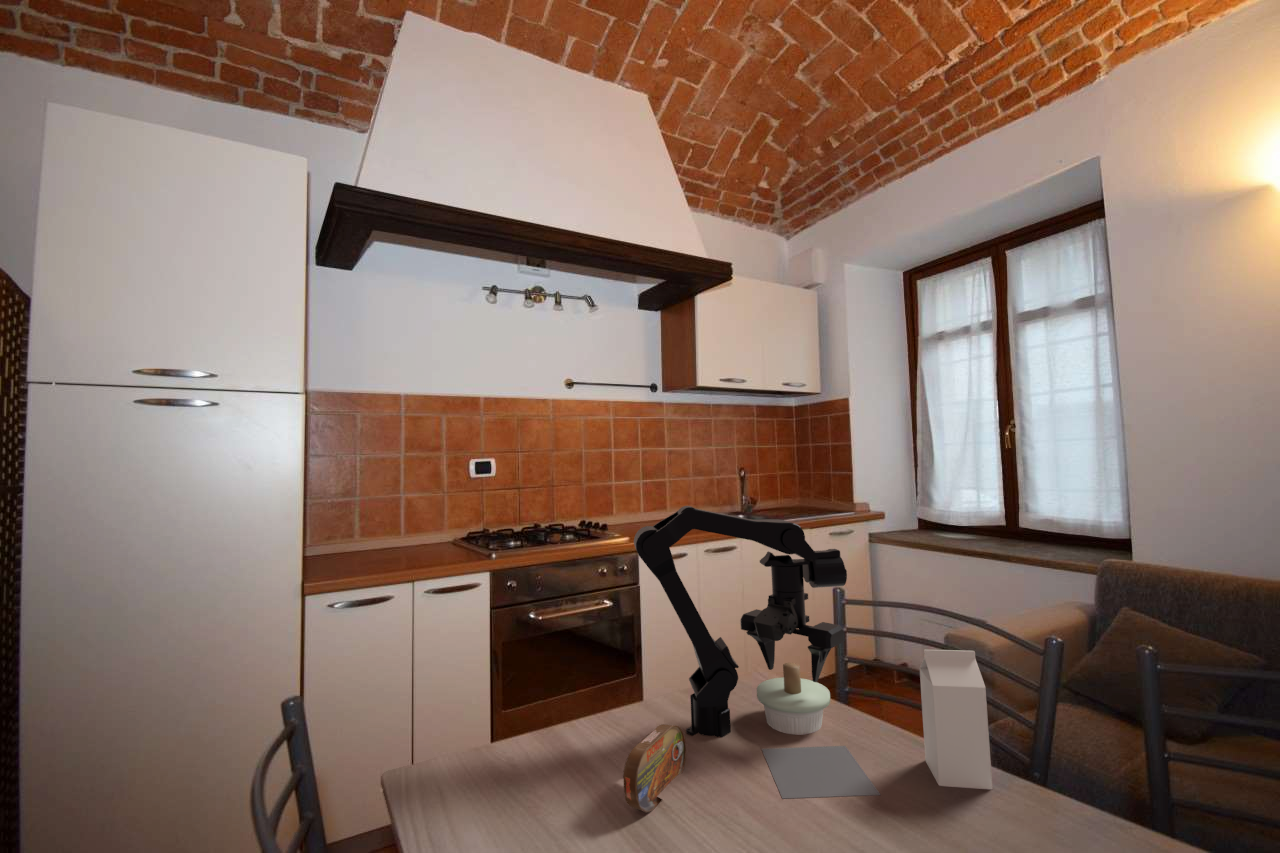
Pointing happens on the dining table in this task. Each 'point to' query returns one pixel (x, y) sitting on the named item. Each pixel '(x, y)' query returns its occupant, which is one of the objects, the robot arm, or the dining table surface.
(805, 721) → the ramekin
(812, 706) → the lid
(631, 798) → the tin
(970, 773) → the milk carton
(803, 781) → the mat
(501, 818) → the dining table surface
